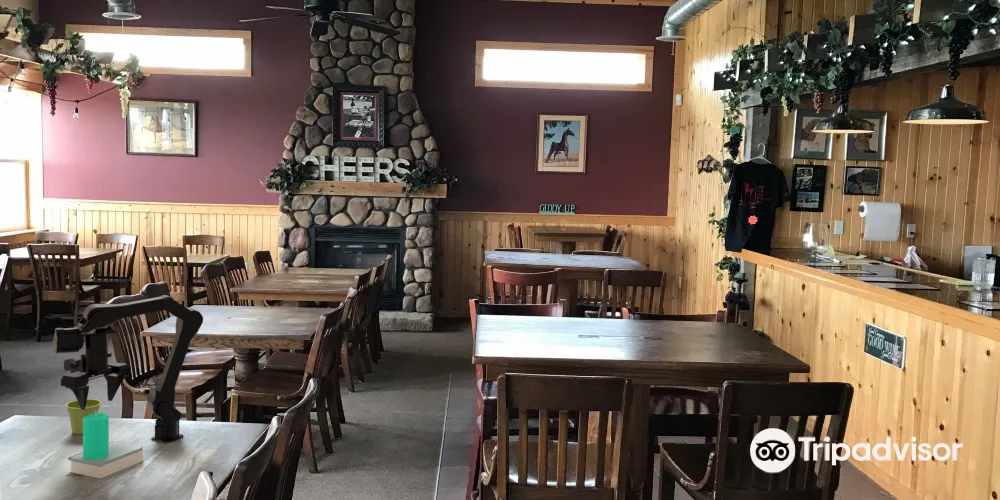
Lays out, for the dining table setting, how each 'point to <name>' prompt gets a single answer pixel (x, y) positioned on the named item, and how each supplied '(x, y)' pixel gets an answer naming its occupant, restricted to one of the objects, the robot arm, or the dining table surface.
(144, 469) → the dining table surface
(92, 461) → the lid
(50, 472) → the dining table surface
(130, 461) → the small notepad
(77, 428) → the plant pot
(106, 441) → the candle
